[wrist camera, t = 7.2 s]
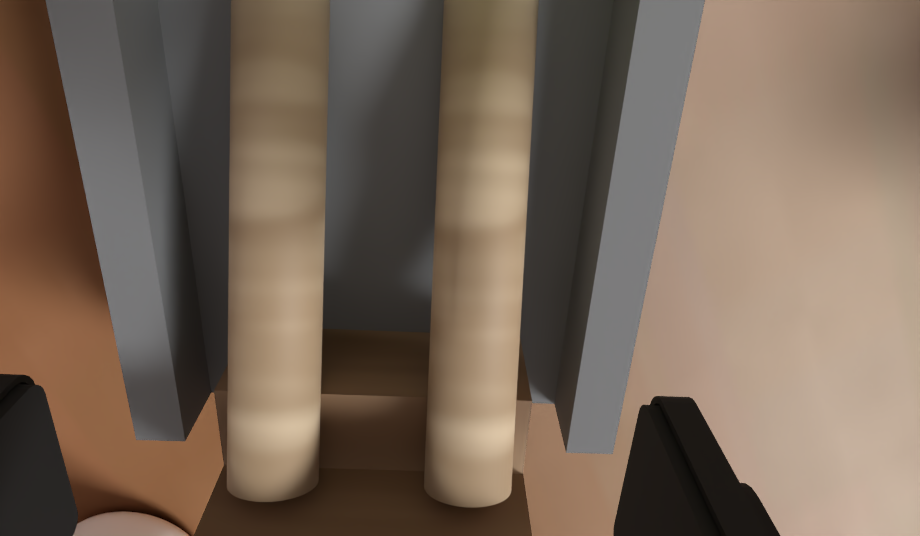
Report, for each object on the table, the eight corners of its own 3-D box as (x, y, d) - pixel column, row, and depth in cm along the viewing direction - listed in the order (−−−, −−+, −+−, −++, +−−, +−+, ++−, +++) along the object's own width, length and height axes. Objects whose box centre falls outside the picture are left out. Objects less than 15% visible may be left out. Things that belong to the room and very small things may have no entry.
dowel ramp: (503, 393, 21) (533, 628, 14) (274, 385, 20) (182, 622, 13) (551, -73, 15) (648, -94, 8) (234, -93, 15) (32, -133, 8)
